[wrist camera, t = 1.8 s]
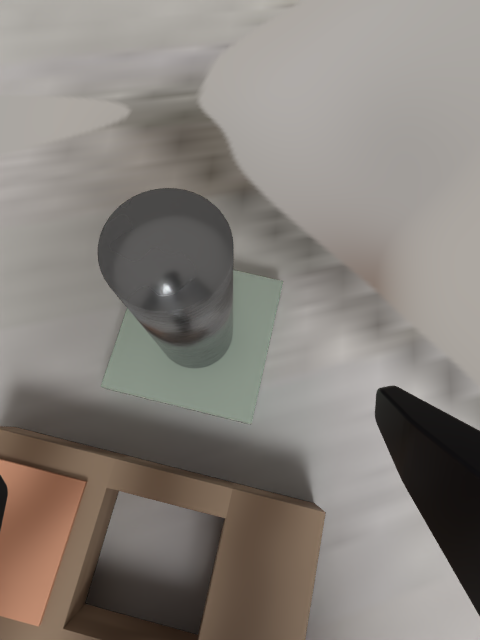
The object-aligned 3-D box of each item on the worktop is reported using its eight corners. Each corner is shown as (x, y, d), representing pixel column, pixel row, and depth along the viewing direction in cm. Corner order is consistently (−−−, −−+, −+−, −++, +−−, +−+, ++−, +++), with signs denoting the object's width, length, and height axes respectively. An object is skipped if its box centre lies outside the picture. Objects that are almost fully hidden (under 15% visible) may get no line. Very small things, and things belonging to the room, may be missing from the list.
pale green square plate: (280, 287, 23) (283, 281, 22) (250, 424, 21) (251, 423, 20) (150, 257, 24) (146, 250, 23) (106, 388, 21) (100, 386, 20)
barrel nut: (240, 305, 22) (246, 203, 12) (222, 376, 21) (214, 325, 11) (170, 289, 22) (122, 176, 12) (149, 358, 21) (78, 293, 11)
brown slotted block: (314, 503, 20) (326, 513, 17) (282, 692, 18) (290, 736, 15) (15, 426, 21) (-16, 425, 18) (-52, 598, 18) (-98, 625, 16)
